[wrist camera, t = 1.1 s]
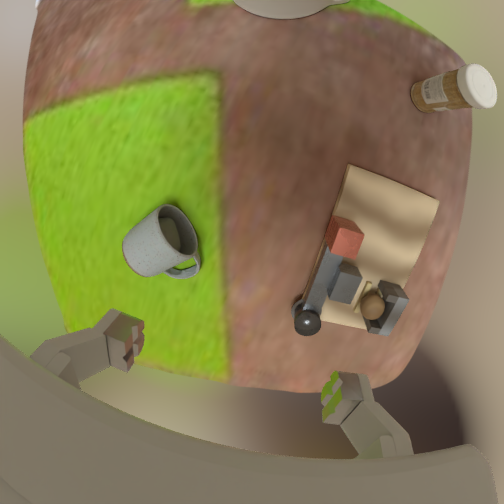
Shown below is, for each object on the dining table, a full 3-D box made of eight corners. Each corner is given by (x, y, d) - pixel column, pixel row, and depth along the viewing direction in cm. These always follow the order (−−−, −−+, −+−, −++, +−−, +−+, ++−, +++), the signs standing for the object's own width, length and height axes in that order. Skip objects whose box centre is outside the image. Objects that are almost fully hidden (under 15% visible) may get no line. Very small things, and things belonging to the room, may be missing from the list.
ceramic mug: (135, 227, 38) (107, 247, 31) (174, 196, 35) (148, 212, 28) (176, 282, 41) (157, 311, 34) (217, 258, 38) (203, 286, 31)
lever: (329, 213, 32) (337, 226, 27) (371, 226, 32) (384, 241, 27) (290, 319, 38) (291, 342, 34) (327, 327, 38) (331, 350, 34)
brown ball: (363, 286, 35) (370, 300, 32) (384, 291, 35) (392, 305, 32) (353, 307, 36) (358, 322, 33) (374, 312, 36) (380, 326, 33)
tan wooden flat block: (338, 160, 31) (349, 164, 26) (434, 199, 31) (454, 209, 26) (287, 313, 40) (287, 336, 35) (373, 331, 40) (381, 354, 35)
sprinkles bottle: (432, 119, 26) (495, 117, 14) (405, 102, 26) (463, 90, 14) (439, 92, 25) (500, 81, 12) (413, 75, 24) (469, 53, 12)
